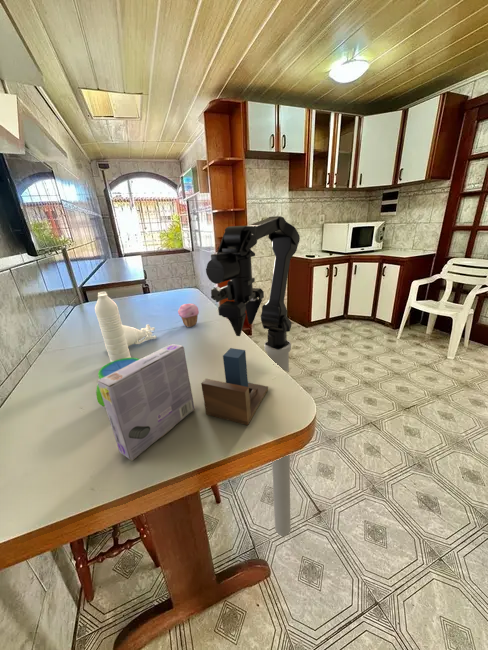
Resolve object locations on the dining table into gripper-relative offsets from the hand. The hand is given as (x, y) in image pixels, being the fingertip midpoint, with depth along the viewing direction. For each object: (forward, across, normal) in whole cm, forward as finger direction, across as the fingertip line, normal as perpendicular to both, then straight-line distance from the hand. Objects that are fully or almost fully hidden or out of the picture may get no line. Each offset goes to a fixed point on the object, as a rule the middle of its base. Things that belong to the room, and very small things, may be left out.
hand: (244, 329), depth 77 cm
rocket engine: (+13, -3, -49) cm, 51 cm away
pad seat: (+13, +15, +4) cm, 20 cm away
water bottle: (+14, +9, -42) cm, 45 cm away
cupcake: (+13, -27, -38) cm, 48 cm away
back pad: (+12, +15, +4) cm, 20 cm away
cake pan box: (+14, +29, -10) cm, 33 cm away
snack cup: (+14, +23, -25) cm, 37 cm away
